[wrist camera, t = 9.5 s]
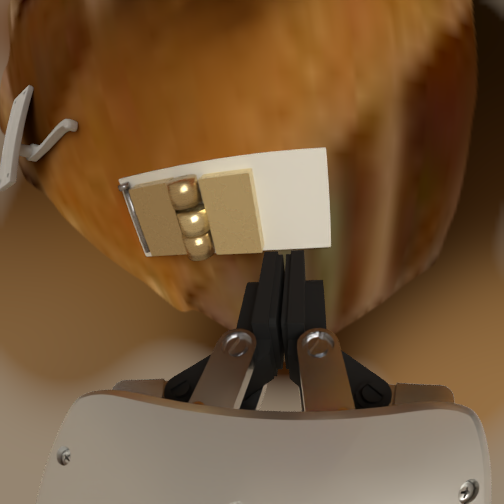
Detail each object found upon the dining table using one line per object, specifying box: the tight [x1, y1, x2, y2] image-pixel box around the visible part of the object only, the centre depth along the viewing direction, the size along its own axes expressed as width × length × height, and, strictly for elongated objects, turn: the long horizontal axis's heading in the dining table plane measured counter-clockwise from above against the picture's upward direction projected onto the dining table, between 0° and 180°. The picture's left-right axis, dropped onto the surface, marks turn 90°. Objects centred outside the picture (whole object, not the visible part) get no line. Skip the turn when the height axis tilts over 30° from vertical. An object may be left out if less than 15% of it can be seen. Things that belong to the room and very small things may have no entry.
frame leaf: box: [129, 174, 215, 261], centre depth 40 cm, size 12×11×4 cm
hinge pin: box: [118, 182, 150, 253], centre depth 42 cm, size 13×2×2 cm, turn 9°
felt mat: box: [119, 148, 331, 256], centre depth 40 cm, size 15×32×1 cm, turn 99°
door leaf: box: [177, 168, 264, 255], centre depth 38 cm, size 12×11×4 cm
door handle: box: [0, 85, 78, 191], centre depth 34 cm, size 18×8×20 cm
